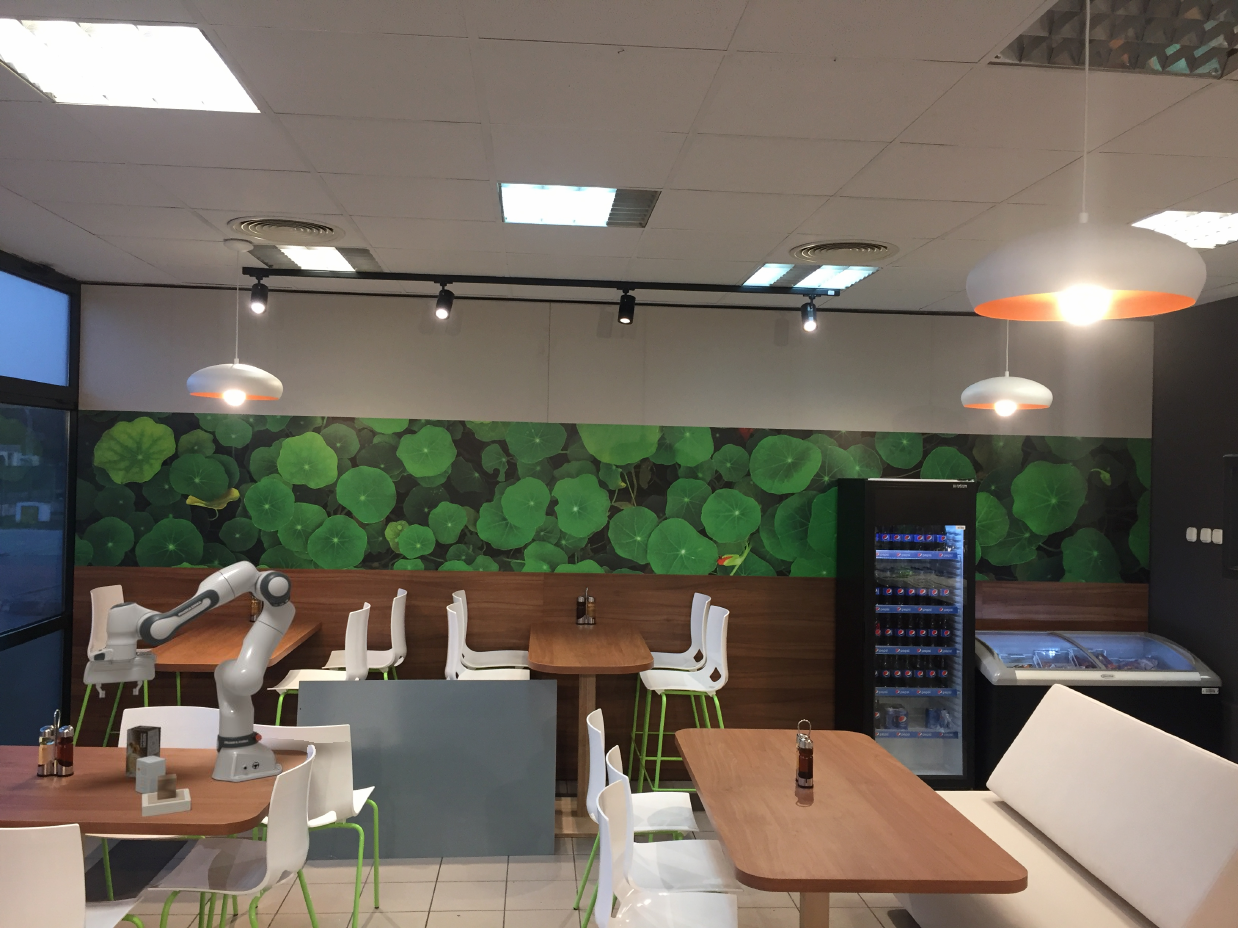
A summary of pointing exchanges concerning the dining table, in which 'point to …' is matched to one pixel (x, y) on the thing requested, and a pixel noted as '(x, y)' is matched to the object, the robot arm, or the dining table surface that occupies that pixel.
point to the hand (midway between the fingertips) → (119, 695)
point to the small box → (149, 773)
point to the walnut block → (166, 786)
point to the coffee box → (141, 746)
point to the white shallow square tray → (165, 803)
